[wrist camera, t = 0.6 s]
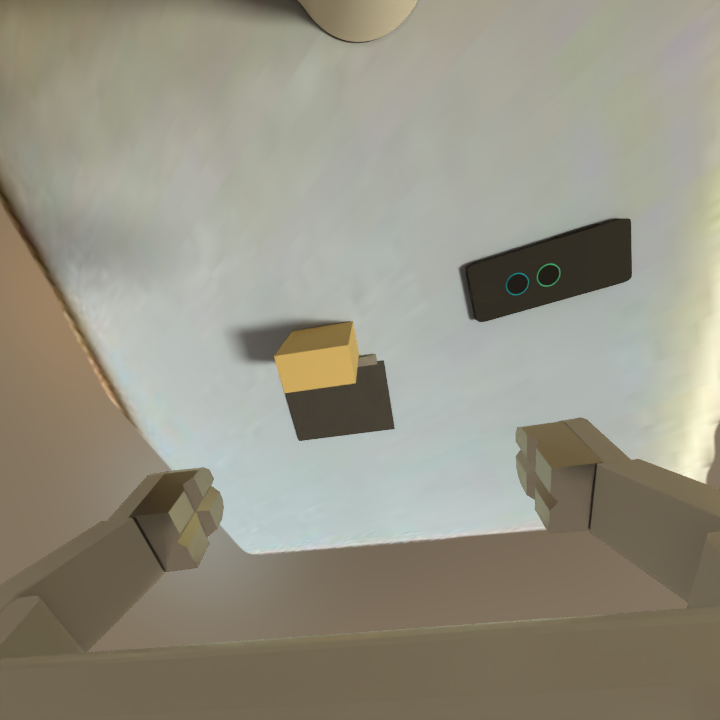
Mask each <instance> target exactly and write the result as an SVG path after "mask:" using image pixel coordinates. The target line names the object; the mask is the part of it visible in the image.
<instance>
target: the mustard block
mask: <svg viewBox="0 0 720 720" xmlns="http://www.w3.org/2000/svg"><path fill="white" fill-rule="evenodd" d="M358 357H359V352H358V346H357V341H356V336H355V330H354V325H353V322H347V323H340V324H334V325H328V326H321V327H315V328H309V329H302V330H296V331H292V332H291V334H290V335H289V336H288V338H287V339H286V341H285V342H284V343H283V345H282V346H281V347H280V349H279V350H278V351H277V353H276V354H275V355H274V358H275V362H276V365H277V369H278V372H279V376H280V379H281V383H282V386H283V390H284V393H290V392H297V391H304V390H311V389H318V388H325V387H333V386H340V385H347V384H354V383H356V377H357V367H358Z"/></svg>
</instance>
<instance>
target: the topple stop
mask: <svg viewBox="0 0 720 720" xmlns="http://www.w3.org/2000/svg"><path fill="white" fill-rule="evenodd" d="M286 397H287V400H288V404H289V407H290V411H291V414H292V418H293V421H294V425H295V428H296V432H297V435H298V439H299V441H302V440H310V439H318V438H326V437H334V436H342V435H349V434H357V433H365V432H373V431H381V430H389V429H394V422H393V416H392V410H391V403H390V397H389V391H388V384H387V378H386V372H385V365H384V361H378V362H377V358H376V354H374V355H368V356H361V357H358V367H357V377H356V383H354V384H347V385H340V386H333V387H325V388H318V389H311V390H304V391H297V392H290V393H286Z"/></svg>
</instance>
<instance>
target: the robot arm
mask: <svg viewBox="0 0 720 720" xmlns="http://www.w3.org/2000/svg"><path fill="white" fill-rule="evenodd" d="M298 1H299V2H300V4H301V5H302V6H303V7H304V9H305V10H306V11H307V13H308V14H309V15H310V16H311V18H312V19H313V20H314V21H315V22H316V23H317V24H318V25H319V26H320V27H321V28H322V29H324V30H325V31H326V32H328V33H330V34H331V35H333V36H335V37H337V38H340V39H343V40H346V41H352V42H365V41H371V40H374V39H377V38H380V37H382V36H384V35H386V34H388V33H389V32H391V31H392V30H394V29H395V28H396V27H397V26H399V25H400V24H401V23H402V22H403V21H404V20H405V18H406V17H407V16H408V15H409V14H410V12H411V11H412V9H413V8H414V6H415V5H416V3H417V1H418V0H298ZM516 443H517V444H518V446H519V447H520V449H521V450H520V451H519V453H518V454H517V455H516V468H517V473H518V477H519V480H520V483H521V485H522V487H523V489H524V491H525V493H526V495H528V496H530V497H531V498H533V499H535V510H536V512H537V514H538V516H539V517H540V519H541V521H542V523H543V524H544V526H545V528H546V529H547V531H548V533H563V532H564V533H565V532H579V531H590V533H591V534H592V535H594V536H595V537H597V538H598V539H600V540H601V541H602V542H604V543H605V544H606V545H608V546H609V547H611V548H612V549H613V550H615V551H616V552H618V553H619V554H620V555H622V556H623V557H625V558H626V559H628V560H629V561H630V562H632V563H633V564H634V565H636V566H637V567H639V568H640V569H641V570H643V571H644V572H646V573H647V574H648V575H650V576H651V577H653V578H654V579H656V580H657V581H658V582H660V583H661V584H663V585H664V586H665V587H667V588H668V589H670V590H671V591H672V592H674V593H675V594H677V595H678V596H679V597H681V598H682V599H684V600H685V601H687V602H688V606H687V608H685V609H672V610H658V611H644V612H631V613H617V614H604V615H591V616H590V615H589V616H576V617H562V618H548V619H535V620H522V621H508V622H495V623H482V624H468V625H455V626H442V627H428V628H415V629H402V630H388V631H377V632H376V631H375V632H362V633H349V634H348V633H347V634H334V635H320V636H306V637H293V638H278V639H264V640H250V641H237V642H223V643H209V644H196V645H182V646H168V647H155V648H141V649H128V650H114V651H100V652H87V651H88V650H89V649H90V648H91V647H92V646H93V645H94V644H95V643H96V642H97V641H98V640H99V639H100V638H101V637H102V636H103V635H104V634H105V633H106V632H107V631H108V630H109V629H110V628H111V627H112V626H113V625H114V624H115V623H116V622H117V621H118V620H119V619H120V618H121V617H122V616H123V615H124V614H125V613H126V612H127V611H128V610H129V609H130V608H131V607H132V606H133V605H134V604H135V603H136V602H137V601H138V600H139V599H140V598H141V597H142V596H143V595H144V594H145V593H146V592H147V591H148V590H149V589H150V588H151V587H152V586H153V585H154V584H155V583H156V582H157V581H158V580H159V579H160V578H161V577H162V576H163V575H164V574H165V573H164V572H170V571H177V570H185V569H192V568H197V567H198V565H199V563H200V562H201V560H202V558H203V556H204V554H205V552H206V550H207V548H208V546H209V544H210V543H209V539H208V536H209V535H210V534H212V533H213V532H214V531H215V530H216V529H217V528H218V526H219V524H220V522H221V520H222V515H223V509H224V506H223V499H222V497H221V494H220V492H219V491H218V490H216V489H215V488H214V487H212V483H213V480H214V478H213V476H212V474H211V472H210V470H209V469H207V468H204V467H203V468H193V469H184V470H174V471H166V472H159V473H153V474H150V475H148V476H147V477H146V478H145V479H144V480H143V481H142V482H141V484H140V485H139V486H138V487H137V488H136V489H135V490H134V491H133V492H132V493H131V495H130V496H129V497H128V498H127V499H126V500H125V501H124V502H123V503H122V505H121V506H120V507H119V508H118V509H117V510H116V511H115V512H114V514H113V515H112V516H111V517H110V518H109V519H108V520H107V521H101V522H99V523H98V524H96V525H95V526H93V527H92V528H90V529H88V530H87V531H85V532H84V533H82V534H80V535H79V536H77V537H76V538H74V539H72V540H71V541H69V542H67V543H66V544H64V545H63V546H61V547H59V548H58V549H56V550H55V551H53V552H52V553H50V554H48V555H47V556H45V557H43V558H42V559H40V560H39V561H37V562H36V563H34V564H32V565H31V566H29V567H28V568H26V569H24V570H23V571H21V572H20V573H18V574H16V575H15V576H13V577H12V578H10V579H8V580H7V581H5V582H4V583H2V584H0V720H720V489H717V488H715V487H712V486H709V485H707V484H704V483H701V482H699V481H696V480H693V479H691V478H688V477H685V476H683V475H680V474H677V473H675V472H672V471H669V470H667V469H664V468H661V467H659V466H656V465H653V464H651V463H648V462H645V461H643V460H640V459H635V460H631V459H630V458H629V457H628V456H626V455H625V454H624V453H623V452H622V451H621V450H620V449H619V448H618V447H616V446H615V445H614V444H613V443H612V442H611V441H610V440H609V439H608V438H607V437H605V436H604V435H603V434H602V433H601V432H600V431H599V430H598V429H597V428H595V427H594V426H593V425H592V424H591V423H590V422H589V421H588V420H586V419H584V418H575V419H569V420H563V421H559V422H553V423H546V424H539V425H531V426H524V427H517V430H516ZM86 652H87V653H86Z"/></svg>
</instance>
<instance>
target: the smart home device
mask: <svg viewBox="0 0 720 720" xmlns="http://www.w3.org/2000/svg"><path fill="white" fill-rule="evenodd" d="M465 270H466V275H467V280H468V285H469V290H470V296H471V301H472V306H473V311H474V316H475V319H476V320H477V321H479V322H485V321H489V320H492V319H496V318H499V317H503V316H506V315H510V314H513V313H517V312H521V311H524V310H528V309H531V308H535V307H538V306H542V305H545V304H549V303H552V302H556V301H559V300H563V299H567V298H570V297H574V296H577V295H581V294H584V293H588V292H591V291H595V290H598V289H602V288H606V287H609V286H613V285H616V284H620V283H623V282H625V281H628V280H629V279H630V278H631V276H632V261H631V220H630V219H615V220H611V221H608V222H605V223H602V224H595V225H592V226H589V227H586V228H582V229H579V230H576V231H573V232H570V233H566V234H563V235H560V236H557V237H555V238H553V239H550V240H547V241H543V242H540V243H537V244H534V245H530V246H527V247H524V248H521V249H518V250H514V251H511V252H508V253H505V254H501V255H498V256H495V257H492V258H488V259H485V260H482V261H479V262H476V263H473V264H470V265H469V266H467V267H466V269H465Z"/></svg>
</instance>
